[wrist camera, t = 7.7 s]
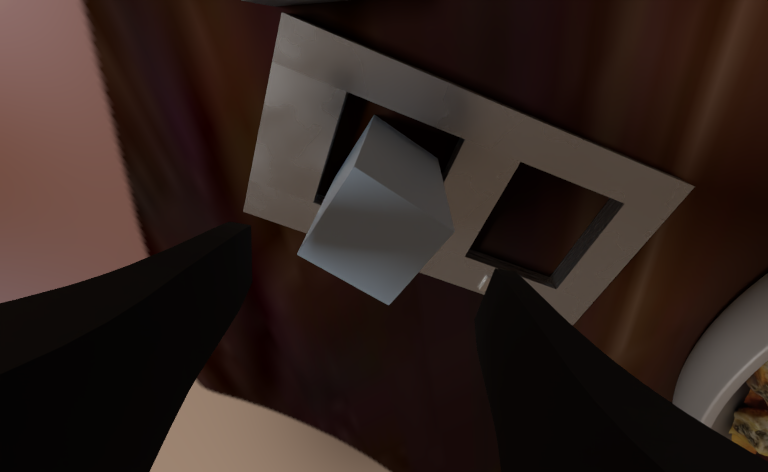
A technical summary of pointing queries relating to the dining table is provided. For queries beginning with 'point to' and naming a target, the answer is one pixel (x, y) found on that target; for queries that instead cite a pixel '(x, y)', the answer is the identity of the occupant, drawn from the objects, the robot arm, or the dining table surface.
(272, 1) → the plug
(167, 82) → the dining table surface
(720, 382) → the bowl
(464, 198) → the panel
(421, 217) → the plug
